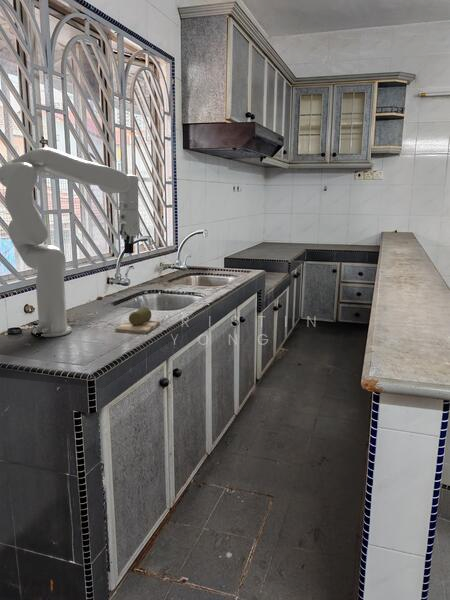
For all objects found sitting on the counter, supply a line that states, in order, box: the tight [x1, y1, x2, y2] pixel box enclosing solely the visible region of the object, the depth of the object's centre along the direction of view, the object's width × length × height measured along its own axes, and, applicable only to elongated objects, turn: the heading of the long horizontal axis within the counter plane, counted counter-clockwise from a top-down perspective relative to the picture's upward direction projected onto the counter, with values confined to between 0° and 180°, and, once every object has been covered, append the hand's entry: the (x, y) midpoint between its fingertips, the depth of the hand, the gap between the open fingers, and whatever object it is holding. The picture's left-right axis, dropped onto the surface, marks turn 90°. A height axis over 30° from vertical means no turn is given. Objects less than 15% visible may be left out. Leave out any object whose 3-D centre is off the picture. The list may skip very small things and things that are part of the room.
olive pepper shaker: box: [128, 306, 152, 326], centre depth 187 cm, size 6×6×11 cm
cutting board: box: [115, 320, 161, 335], centre depth 184 cm, size 14×12×1 cm
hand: (128, 253), depth 196 cm, fingers closed
